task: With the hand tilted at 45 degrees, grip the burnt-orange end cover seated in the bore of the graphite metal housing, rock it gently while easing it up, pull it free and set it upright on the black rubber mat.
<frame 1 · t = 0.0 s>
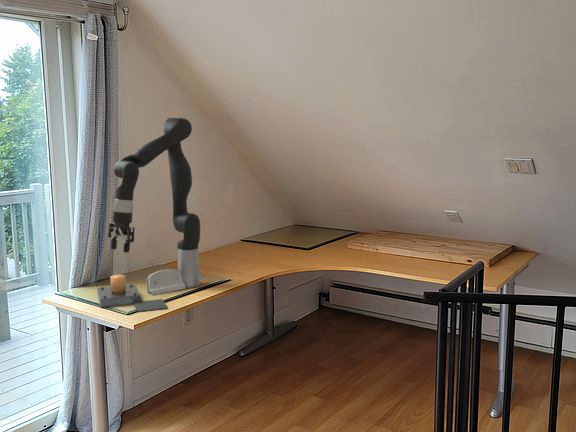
hand: (119, 250, 245), 22 cm above the table, tool pointing down, fingers open, 8 cm apart
end cover: (118, 299, 254), resting in housing
mat: (150, 305, 247), on the table
housing: (118, 299, 254), on the table
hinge: (165, 290, 268), on the table, touching arm
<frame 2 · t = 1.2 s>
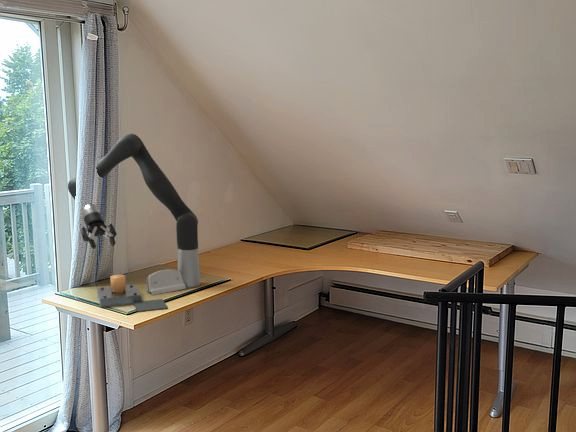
hand: (104, 246, 259), 21 cm above the table, tool tilted 45°, fingers open, 8 cm apart
nothing on the table moved.
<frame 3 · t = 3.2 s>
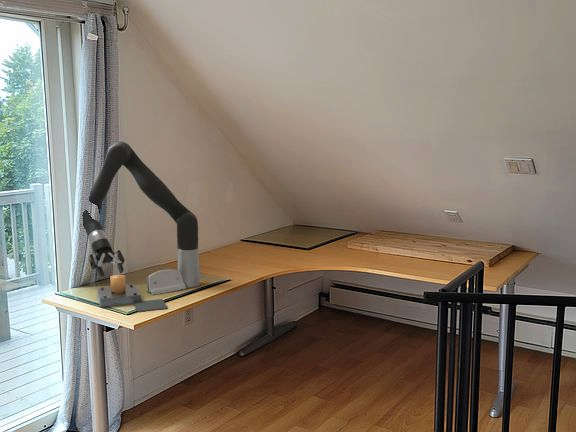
hand: (112, 273, 256), 10 cm above the table, tool tilted 45°, fingers open, 8 cm apart
nothing on the table moved.
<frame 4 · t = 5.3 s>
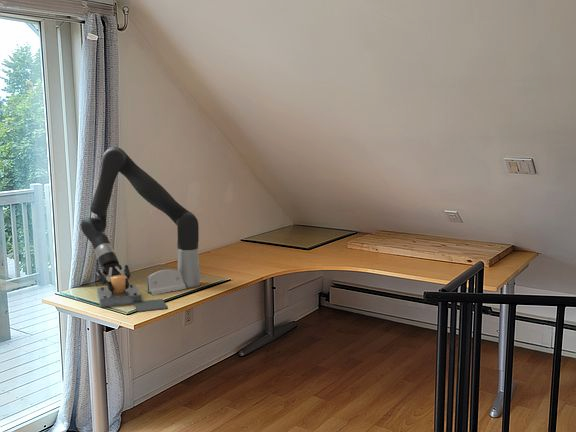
hand: (120, 289, 252), 5 cm above the table, tool tilted 45°, fingers closed on end cover, 6 cm apart
end cover: (118, 299, 254), resting in housing, touching gripper
everything else where it was.
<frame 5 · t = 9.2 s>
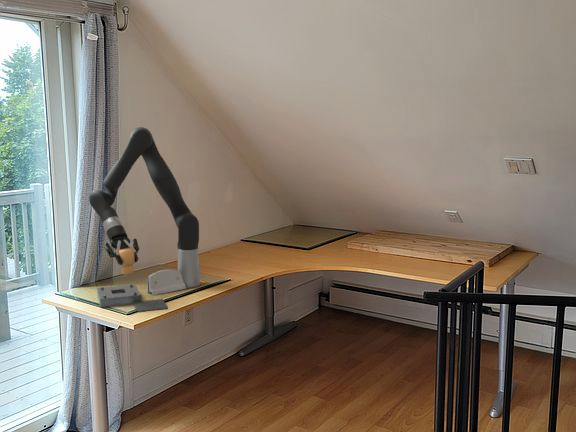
hand: (129, 262, 248), 17 cm above the table, tool tilted 45°, fingers closed on end cover, 6 cm apart
end cover: (127, 273, 250), point 12 cm above the table, touching gripper
everything else where it was.
when the fingers open (7 cm above the table, at t = 13.0 s): end cover drops 1 cm, resting on mat.
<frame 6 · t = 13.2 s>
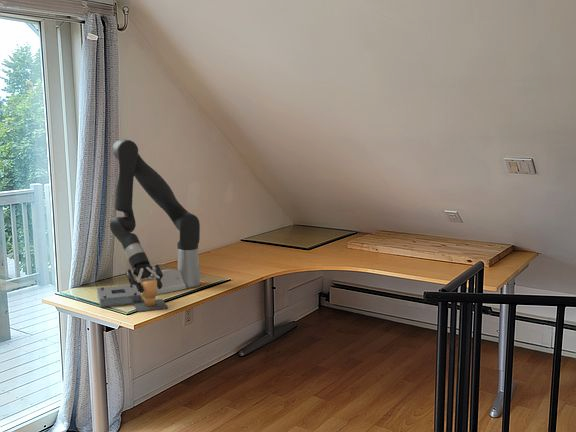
hand: (151, 289, 244), 7 cm above the table, tool tilted 45°, fingers open, 8 cm apart
end cover: (150, 304, 247), point 1 cm above the table, touching mat
everything else where it was.
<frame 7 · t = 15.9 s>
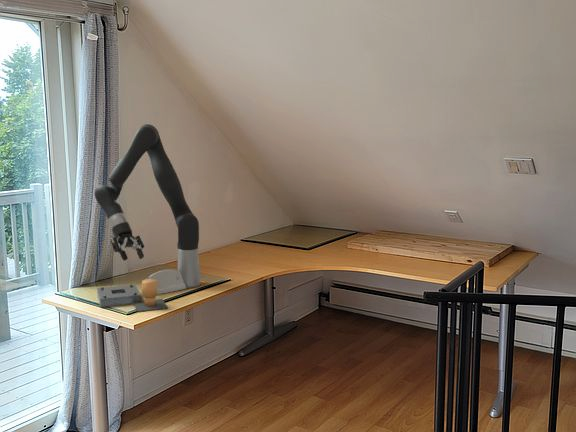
hand: (134, 258, 255), 17 cm above the table, tool tilted 40°, fingers open, 8 cm apart
nothing on the table moved.
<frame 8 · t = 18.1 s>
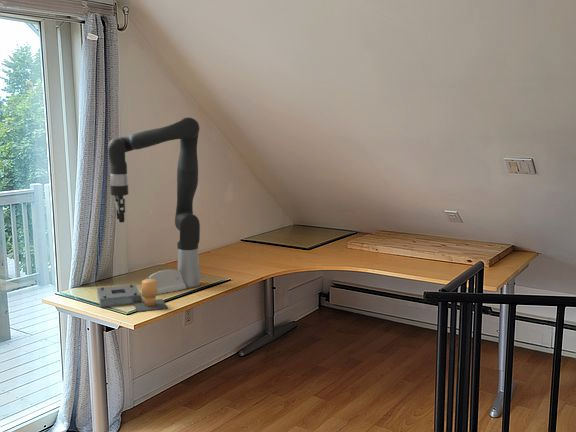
hand: (120, 220, 268), 30 cm above the table, tool pointing down, fingers open, 8 cm apart
nothing on the table moved.
at the end: end cover inside the target area on the mat (0.1 cm from its centre), point 0.5 cm above the mat's base; end cover tilted 0°; the gripper is holding nothing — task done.
